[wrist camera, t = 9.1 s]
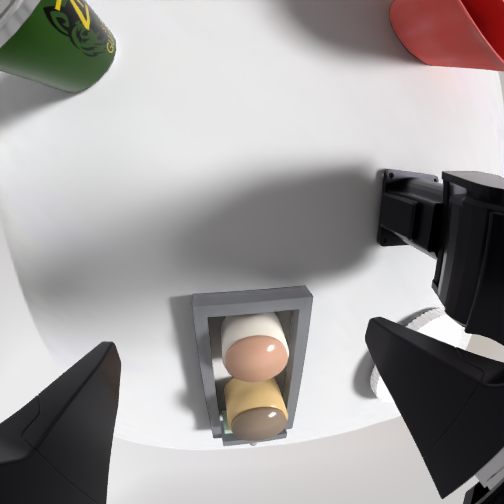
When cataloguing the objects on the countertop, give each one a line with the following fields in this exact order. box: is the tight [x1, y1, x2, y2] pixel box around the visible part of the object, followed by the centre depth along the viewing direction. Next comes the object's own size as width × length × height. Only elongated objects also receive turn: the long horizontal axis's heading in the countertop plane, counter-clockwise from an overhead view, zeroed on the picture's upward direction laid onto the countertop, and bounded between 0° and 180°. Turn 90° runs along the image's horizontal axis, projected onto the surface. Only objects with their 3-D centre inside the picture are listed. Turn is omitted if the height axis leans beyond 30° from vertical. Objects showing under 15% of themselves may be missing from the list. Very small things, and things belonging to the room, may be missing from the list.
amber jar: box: [224, 377, 288, 441], centre depth 24 cm, size 6×6×5 cm
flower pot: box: [389, 0, 504, 71], centre depth 11 cm, size 11×11×10 cm
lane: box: [192, 286, 313, 446], centre depth 24 cm, size 9×18×3 cm, turn 0°
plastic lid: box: [370, 308, 462, 403], centre depth 28 cm, size 14×14×2 cm
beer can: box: [0, 0, 116, 92], centre depth 8 cm, size 5×5×12 cm
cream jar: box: [221, 312, 289, 382], centre depth 21 cm, size 5×5×4 cm
